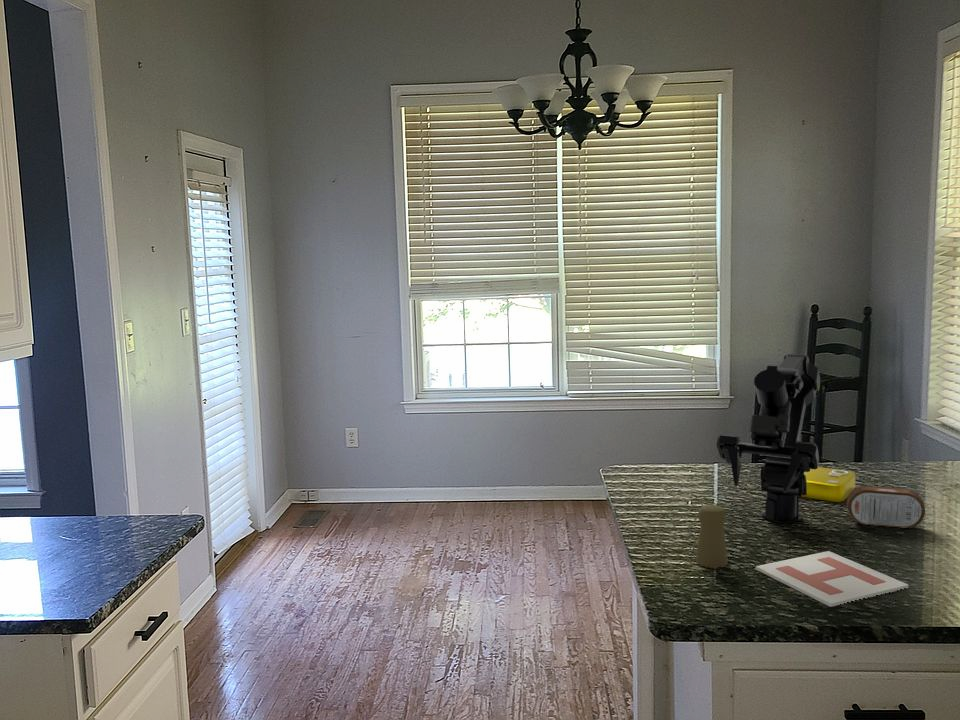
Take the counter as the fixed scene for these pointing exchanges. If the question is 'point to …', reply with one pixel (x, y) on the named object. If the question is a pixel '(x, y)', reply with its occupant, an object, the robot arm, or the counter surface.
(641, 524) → the counter surface
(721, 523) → the cork
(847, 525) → the counter surface
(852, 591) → the letter board
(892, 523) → the tin
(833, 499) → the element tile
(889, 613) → the counter surface
